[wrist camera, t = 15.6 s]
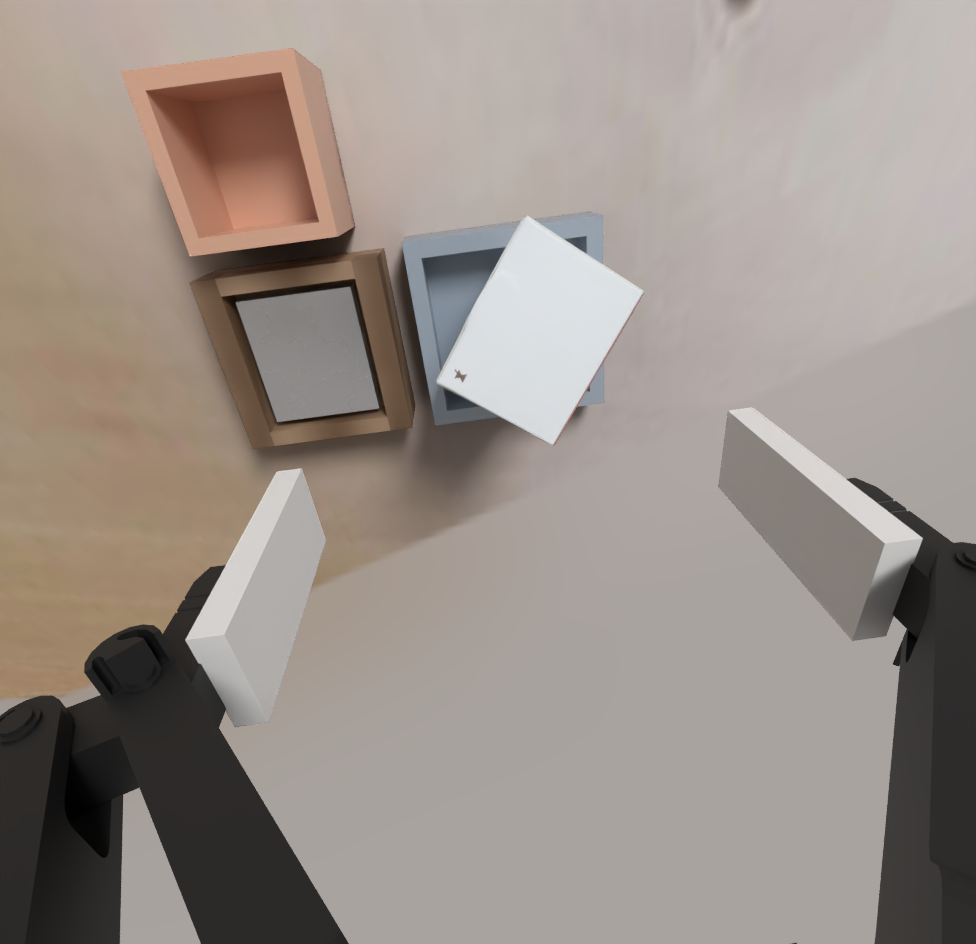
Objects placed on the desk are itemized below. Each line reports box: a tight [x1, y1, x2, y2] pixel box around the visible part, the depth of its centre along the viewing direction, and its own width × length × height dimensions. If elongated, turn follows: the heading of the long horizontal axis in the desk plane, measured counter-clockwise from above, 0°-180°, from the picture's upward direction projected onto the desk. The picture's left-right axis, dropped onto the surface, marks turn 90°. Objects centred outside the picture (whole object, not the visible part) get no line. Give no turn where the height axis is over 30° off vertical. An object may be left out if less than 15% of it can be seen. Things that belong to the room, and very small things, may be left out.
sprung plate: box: [236, 283, 381, 422], centre depth 34 cm, size 7×8×1 cm
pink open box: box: [121, 48, 355, 257], centre depth 29 cm, size 8×8×6 cm
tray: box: [402, 212, 604, 426], centre depth 36 cm, size 12×12×3 cm
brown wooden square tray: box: [189, 248, 415, 449], centre depth 35 cm, size 11×11×4 cm
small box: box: [436, 216, 644, 446], centre depth 29 cm, size 8×6×13 cm
